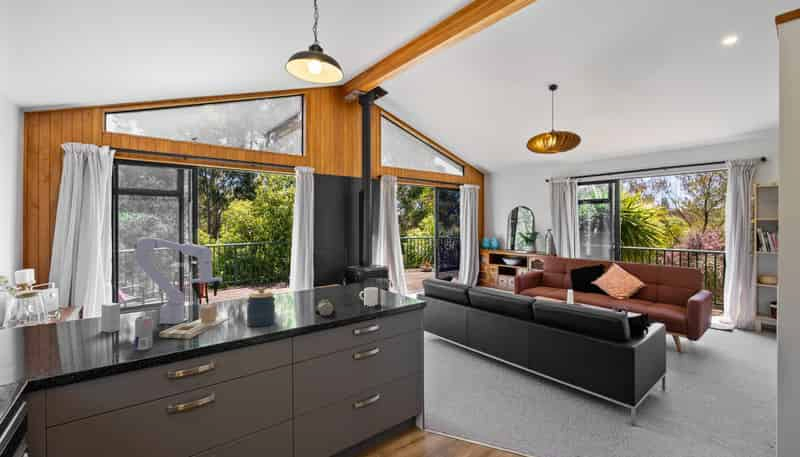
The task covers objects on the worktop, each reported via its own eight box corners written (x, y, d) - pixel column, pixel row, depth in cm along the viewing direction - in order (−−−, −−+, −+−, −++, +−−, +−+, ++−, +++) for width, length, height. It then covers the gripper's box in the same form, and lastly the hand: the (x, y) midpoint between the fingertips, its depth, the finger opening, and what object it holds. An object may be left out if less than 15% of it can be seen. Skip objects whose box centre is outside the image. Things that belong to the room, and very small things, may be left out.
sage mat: (187, 325, 161) (187, 324, 161) (205, 317, 174) (205, 316, 174) (213, 326, 160) (213, 325, 160) (229, 318, 173) (229, 317, 172)
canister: (241, 323, 165) (242, 287, 165) (267, 318, 175) (267, 284, 174) (253, 329, 156) (253, 291, 156) (280, 323, 166) (280, 287, 165)
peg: (201, 322, 164) (201, 307, 164) (207, 319, 169) (207, 305, 168) (210, 322, 164) (210, 308, 164) (215, 320, 168) (215, 305, 168)
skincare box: (120, 330, 153) (120, 303, 152) (110, 333, 148) (109, 305, 148) (111, 328, 155) (111, 302, 154) (100, 331, 150) (100, 304, 150)
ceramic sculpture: (316, 300, 177) (313, 296, 191) (316, 317, 176) (313, 311, 190) (336, 299, 180) (332, 295, 194) (336, 316, 180) (332, 310, 194)
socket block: (159, 337, 144) (159, 332, 144) (182, 327, 158) (182, 322, 158) (189, 338, 143) (189, 333, 143) (210, 328, 157) (210, 324, 157)
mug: (356, 305, 204) (356, 288, 204) (373, 302, 211) (373, 286, 211) (362, 307, 198) (362, 291, 197) (380, 305, 205) (380, 289, 204)
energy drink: (141, 345, 134) (141, 315, 134) (155, 345, 135) (155, 315, 135) (131, 351, 129) (131, 319, 129) (146, 350, 130) (146, 319, 129)
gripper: (187, 272, 169) (188, 299, 170) (219, 270, 173) (220, 297, 173) (191, 270, 176) (193, 296, 177) (222, 268, 179) (224, 293, 180)
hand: (207, 296), depth 175 cm, fingers open, 7 cm apart
